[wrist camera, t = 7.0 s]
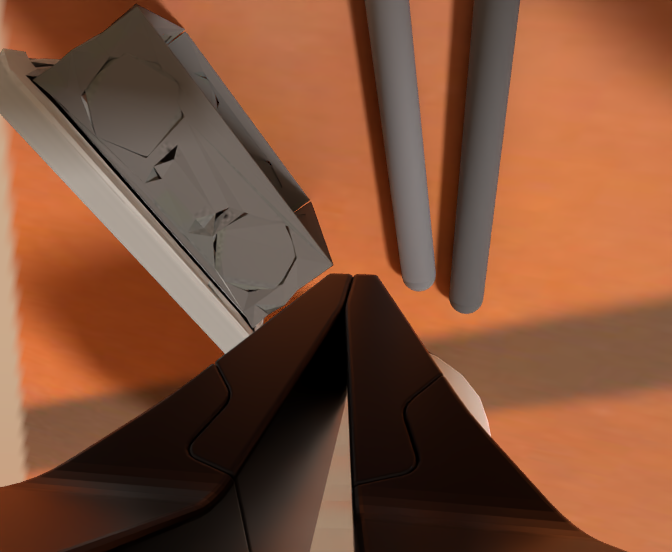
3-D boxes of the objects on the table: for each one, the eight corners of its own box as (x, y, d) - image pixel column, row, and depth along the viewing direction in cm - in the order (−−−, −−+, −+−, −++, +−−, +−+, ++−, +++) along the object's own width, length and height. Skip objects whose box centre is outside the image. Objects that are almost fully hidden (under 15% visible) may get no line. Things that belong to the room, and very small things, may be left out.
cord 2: (537, -185, 15) (549, -199, 13) (479, 302, 23) (483, 320, 22) (486, -181, 15) (493, -195, 14) (446, 301, 23) (449, 319, 22)
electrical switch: (97, 69, 19) (-90, 120, 11) (201, -21, 18) (75, -39, 10) (253, 258, 23) (198, 403, 15) (351, 195, 21) (352, 317, 13)
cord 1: (391, -175, 15) (390, -187, 14) (436, 278, 23) (437, 295, 21) (344, -163, 15) (339, -173, 14) (403, 281, 23) (403, 299, 22)
